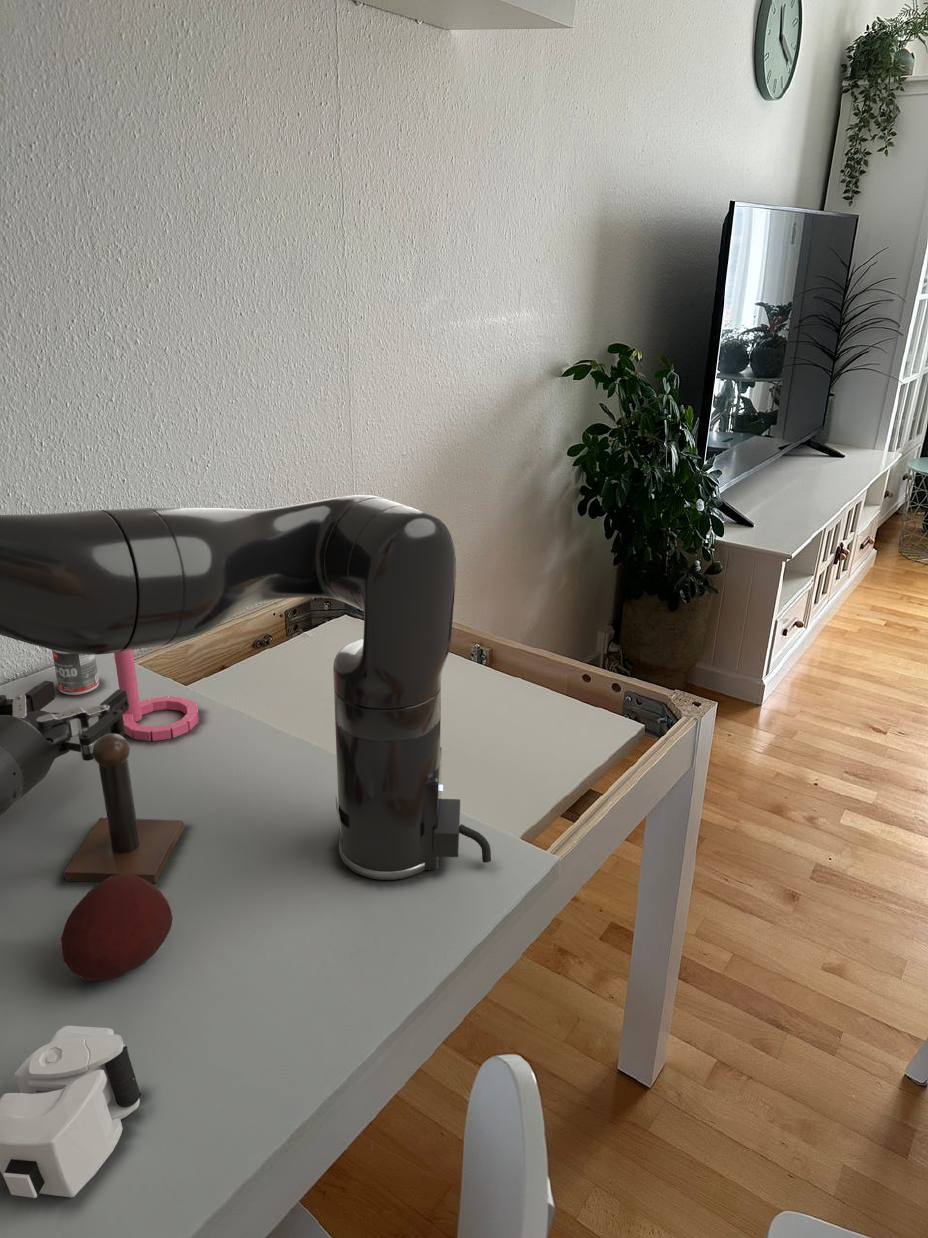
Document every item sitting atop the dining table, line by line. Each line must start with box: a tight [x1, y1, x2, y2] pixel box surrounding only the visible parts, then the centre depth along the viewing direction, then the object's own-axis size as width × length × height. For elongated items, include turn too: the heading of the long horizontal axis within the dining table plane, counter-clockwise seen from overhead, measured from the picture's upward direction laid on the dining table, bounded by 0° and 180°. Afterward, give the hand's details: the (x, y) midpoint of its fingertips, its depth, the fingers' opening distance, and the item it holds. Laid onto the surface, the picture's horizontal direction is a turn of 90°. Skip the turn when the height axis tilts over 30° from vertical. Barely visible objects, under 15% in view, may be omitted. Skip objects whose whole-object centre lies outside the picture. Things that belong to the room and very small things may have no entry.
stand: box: [63, 733, 185, 885], centre depth 80 cm, size 8×8×12 cm
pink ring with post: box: [113, 650, 200, 742], centre depth 102 cm, size 9×8×11 cm
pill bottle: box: [51, 649, 100, 696], centre depth 110 cm, size 5×5×8 cm
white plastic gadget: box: [0, 1025, 142, 1199], centre depth 55 cm, size 6×7×10 cm
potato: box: [60, 874, 173, 982], centre depth 69 cm, size 7×8×7 cm
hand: (87, 692), depth 95 cm, fingers open, 8 cm apart
